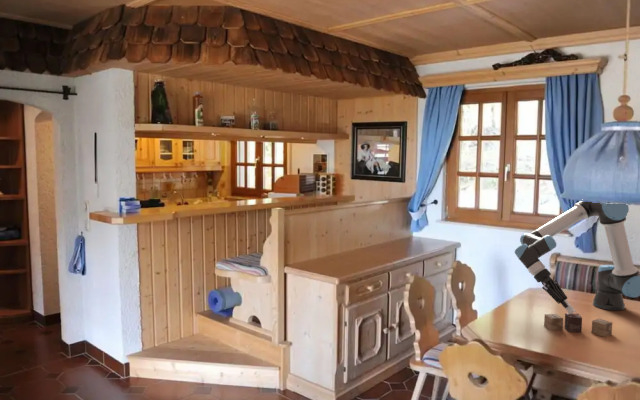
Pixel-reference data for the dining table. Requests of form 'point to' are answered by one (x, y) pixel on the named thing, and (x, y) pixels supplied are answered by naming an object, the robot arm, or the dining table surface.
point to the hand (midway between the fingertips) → (572, 312)
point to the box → (573, 322)
